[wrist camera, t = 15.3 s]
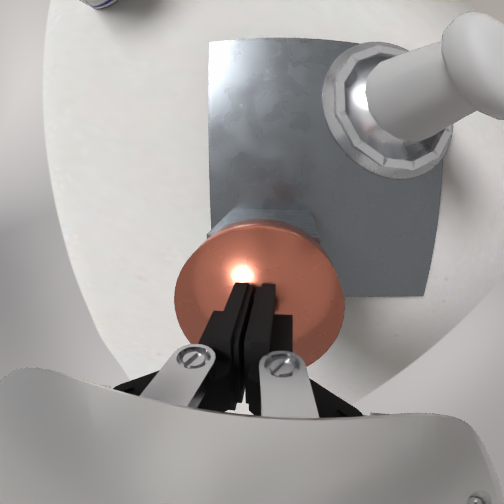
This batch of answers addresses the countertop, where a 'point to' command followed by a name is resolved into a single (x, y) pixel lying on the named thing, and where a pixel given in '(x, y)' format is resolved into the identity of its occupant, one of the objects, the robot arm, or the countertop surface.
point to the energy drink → (98, 3)
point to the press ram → (264, 281)
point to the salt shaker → (441, 80)
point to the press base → (322, 158)
